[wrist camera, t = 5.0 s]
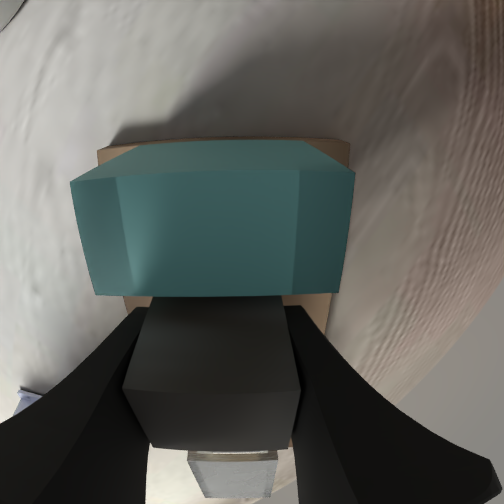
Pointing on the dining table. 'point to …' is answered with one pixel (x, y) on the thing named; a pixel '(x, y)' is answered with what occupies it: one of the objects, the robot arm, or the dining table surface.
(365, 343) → the dining table surface
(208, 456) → the sleeve
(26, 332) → the dining table surface
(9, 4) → the milk bottle
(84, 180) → the socket
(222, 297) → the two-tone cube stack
